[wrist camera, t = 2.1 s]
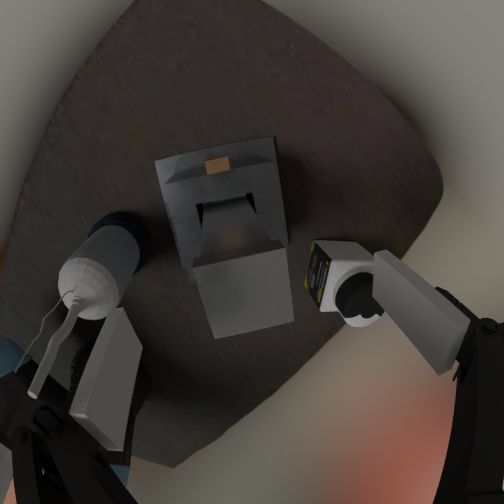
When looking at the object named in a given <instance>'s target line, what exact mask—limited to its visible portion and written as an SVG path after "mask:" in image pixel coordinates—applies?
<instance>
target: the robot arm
mask: <svg viewBox="0 0 504 504" xmlns="http://www.w3.org/2000/svg"><path fill="white" fill-rule="evenodd" d="M372 296H373V298H374V299H375V300H376V301H377V302H378V303H379V304H380V305H381V307H382V308H383V309H384V310H385V311H386V312H387V313H388V315H389V316H390V317H391V318H392V319H393V320H394V322H395V323H396V324H397V325H398V326H399V328H400V329H401V330H402V331H403V332H404V333H405V335H406V336H407V337H408V338H409V340H410V341H411V342H412V343H413V344H414V345H415V347H416V348H417V349H418V350H419V352H420V353H421V354H422V355H423V357H424V358H425V359H426V360H427V362H428V363H429V364H430V365H431V367H432V368H433V369H434V371H435V372H436V373H437V374H438V376H440V375H442V374H444V373H445V372H447V371H449V370H450V369H452V367H453V364H454V362H455V360H457V361H458V362H459V366H458V369H457V371H456V373H455V375H454V377H453V381H455V379H456V377H457V388H456V398H455V407H454V416H453V422H452V429H451V435H450V440H449V445H448V450H447V455H446V459H445V463H444V467H443V471H442V475H441V479H440V482H439V486H438V489H437V492H436V495H435V498H434V501H433V504H504V491H503V489H502V486H503V479H504V322H503V323H499V324H498V323H497V322H496V321H494V320H493V319H490V318H482V319H479V318H478V317H476V315H474V314H473V313H472V312H471V311H470V310H469V309H468V308H467V307H465V306H464V305H463V304H462V303H460V302H459V301H458V300H457V299H456V298H454V296H452V295H451V294H450V293H449V292H448V291H446V290H444V289H442V288H440V287H435V288H434V287H432V286H431V285H430V284H429V283H428V282H426V281H425V280H424V279H423V278H422V277H420V276H419V275H418V274H417V273H415V272H414V271H413V270H412V269H411V268H409V267H408V266H407V265H406V264H404V263H403V262H402V261H400V260H399V259H398V258H397V257H395V256H394V255H393V254H391V253H390V252H389V251H388V250H382V251H379V252H375V253H374V276H373V293H372ZM142 348H143V347H142V345H141V343H140V341H139V339H138V337H137V335H136V333H135V331H134V329H133V327H132V325H131V323H130V321H129V319H128V317H127V315H126V313H125V310H124V308H123V307H122V308H116V309H110V312H109V314H108V316H107V318H106V320H105V322H104V325H103V327H102V329H101V331H100V334H99V336H98V338H97V340H96V343H95V345H89V346H85V347H83V348H81V349H80V350H78V351H77V353H76V354H75V357H74V359H73V361H72V364H71V386H70V388H69V391H68V390H67V389H65V388H64V387H63V386H62V385H60V384H59V383H58V382H57V381H56V380H55V379H53V378H52V377H51V376H50V375H49V374H47V377H46V379H45V381H44V383H43V386H42V388H41V390H40V392H39V394H38V397H37V398H36V399H34V398H32V397H31V396H30V395H29V394H28V390H29V388H30V386H31V383H32V381H33V379H34V377H35V375H36V372H37V370H38V368H39V365H38V364H37V363H36V362H35V361H34V360H33V359H32V356H31V355H28V354H26V355H25V357H24V359H23V360H22V362H21V364H20V366H19V367H18V369H17V371H16V372H15V369H16V368H17V366H18V364H19V363H20V361H21V359H22V358H23V356H24V354H25V353H26V352H25V351H24V350H23V349H21V348H20V347H19V346H18V345H17V344H16V343H15V342H14V341H13V340H11V339H9V338H3V339H0V504H3V502H4V499H5V496H6V494H7V491H8V488H9V485H10V483H11V480H12V478H13V479H14V487H15V494H16V501H17V504H138V503H137V502H136V500H135V499H134V498H133V497H132V495H131V494H130V493H129V491H128V490H127V489H126V488H125V487H126V485H127V481H128V475H129V471H130V469H131V468H130V460H131V450H132V440H133V432H134V424H135V418H136V416H137V414H138V413H139V411H140V409H141V407H142V406H143V404H144V402H145V401H146V400H147V398H148V396H149V391H150V384H151V383H150V377H149V375H148V373H147V371H146V370H145V368H144V367H143V366H142V365H141V364H140V363H139V361H140V357H141V352H142ZM42 469H43V471H44V475H43V472H42Z"/></svg>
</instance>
